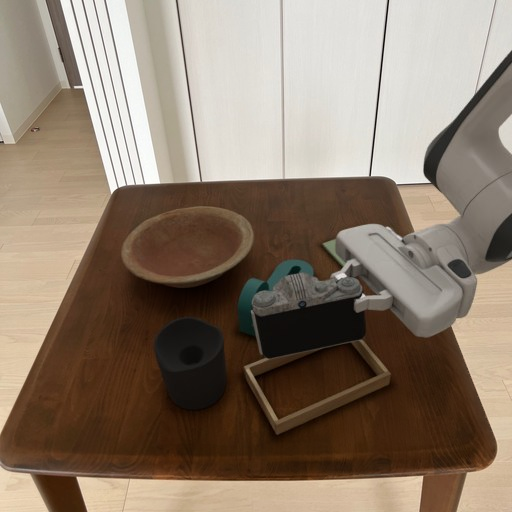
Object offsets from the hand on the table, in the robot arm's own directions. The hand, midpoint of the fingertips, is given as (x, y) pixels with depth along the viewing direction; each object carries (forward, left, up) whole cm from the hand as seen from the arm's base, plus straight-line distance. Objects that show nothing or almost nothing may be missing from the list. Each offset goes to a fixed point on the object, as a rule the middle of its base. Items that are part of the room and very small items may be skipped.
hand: (342, 293), depth 66 cm
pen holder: (+6, +20, -16) cm, 26 cm away
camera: (+1, +4, -7) cm, 8 cm away
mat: (+21, -18, -15) cm, 32 cm away
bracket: (+16, +1, -16) cm, 23 cm away
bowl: (+31, +12, -16) cm, 37 cm away
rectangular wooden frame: (-1, +4, -15) cm, 16 cm away
